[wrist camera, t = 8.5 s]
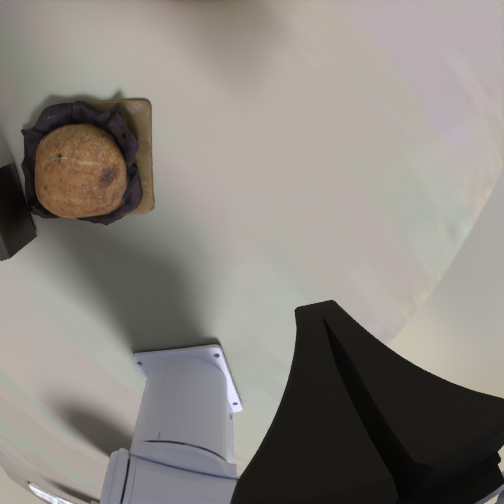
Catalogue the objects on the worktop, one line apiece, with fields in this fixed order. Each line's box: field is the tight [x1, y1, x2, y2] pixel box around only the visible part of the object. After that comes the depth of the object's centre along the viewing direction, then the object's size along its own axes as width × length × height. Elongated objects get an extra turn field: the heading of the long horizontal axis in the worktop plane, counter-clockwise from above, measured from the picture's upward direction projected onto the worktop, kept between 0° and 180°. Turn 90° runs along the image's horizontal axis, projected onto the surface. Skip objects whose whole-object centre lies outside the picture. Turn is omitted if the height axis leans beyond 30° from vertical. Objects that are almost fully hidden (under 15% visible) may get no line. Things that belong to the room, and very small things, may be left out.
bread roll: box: [21, 99, 155, 225], centre depth 16 cm, size 11×8×4 cm
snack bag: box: [28, 482, 76, 504], centre depth 56 cm, size 19×20×2 cm
